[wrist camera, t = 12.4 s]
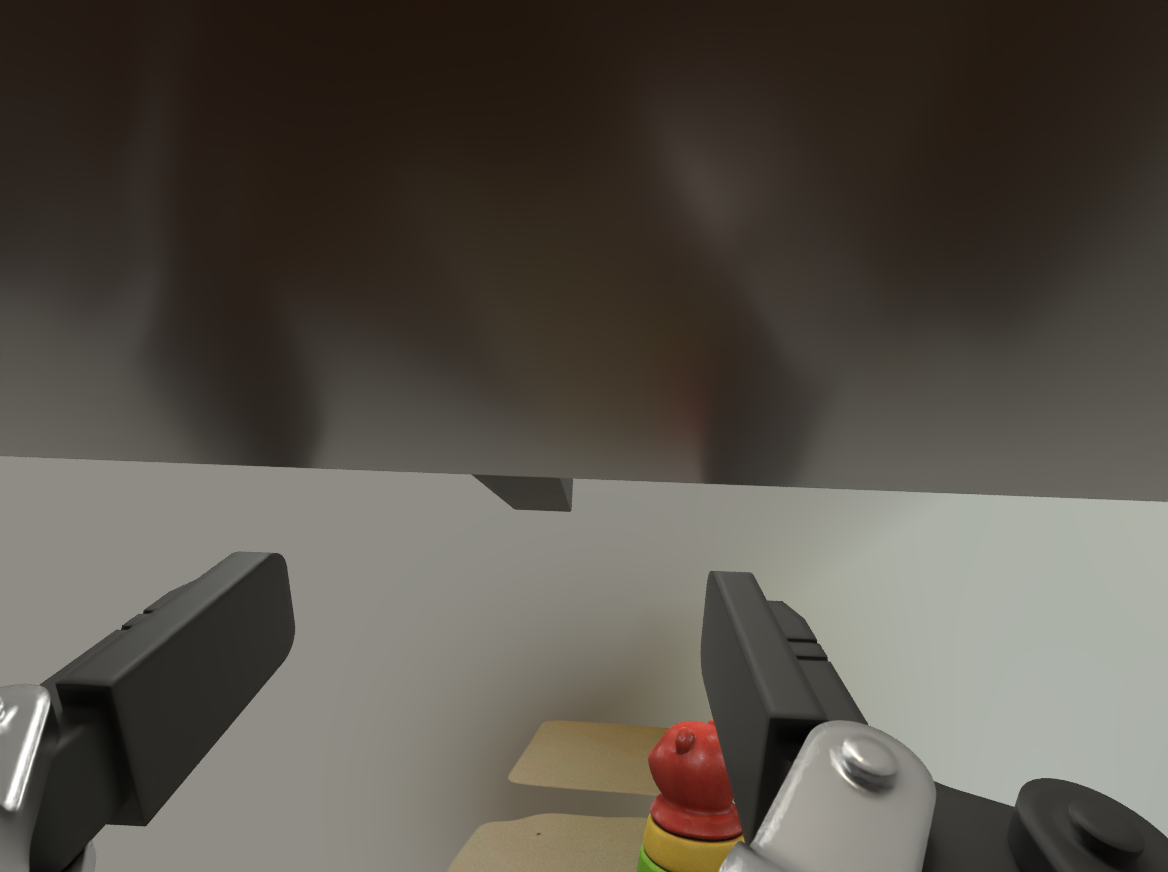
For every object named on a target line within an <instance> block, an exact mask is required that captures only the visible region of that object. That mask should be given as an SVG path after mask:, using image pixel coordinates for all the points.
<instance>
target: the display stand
mask: <svg viewBox="0 0 1168 872" xmlns="http://www.w3.org/2000/svg"><path fill="white" fill-rule="evenodd" d="M0 456H15V457H16V456H17V457H41V458H42V457H43V458H67V459H94V460H117V461H118V460H119V461H143V462H168V463H169V462H170V463H194V464H195V463H196V464H219V465H220V464H221V465H246V466H270V467H297V468H321V469H346V470H372V471H397V472H423V473H424V472H425V473H449V474H474V475H499V476H525V477H550V478H576V479H601V480H627V481H629V480H630V481H652V482H653V481H654V482H677V483H678V482H680V483H704V484H728V485H754V486H780V487H806V488H807V487H808V488H831V489H856V490H881V491H907V492H933V493H959V494H984V495H1010V496H1034V497H1036V496H1037V497H1060V498H1088V499H1111V500H1137V501H1162V502H1168V0H0Z"/></svg>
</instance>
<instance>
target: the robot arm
mask: <svg viewBox="0 0 1168 872" xmlns="http://www.w3.org/2000/svg"><path fill="white" fill-rule="evenodd" d="M702 629H703V630H702V638H701V667H702V675H703V680H704V684H705V689H706V692H707V696H708V700H709V704H710V708H711V712H712V716H713V720H714V724H715V728H716V732H717V735H718V739H719V743H720V747H721V751H722V755H723V759H724V763H725V767H726V770H727V774H728V778H729V782H730V786H731V790H732V794H733V798H734V802H735V806H736V809H737V813H738V817H739V821H740V825H741V829H742V833H743V837H744V841H745V843H744V842H742V841H739V842H737V843H736V844H735V845H734V846H733V848H732V849H731V850H730V852H729V853H728V855H727V857H726V858H725V860H724V862H723V864H722V865H721V867H720V869H719V871H718V872H1168V838H1167V837H1166V836H1165V835H1164V834H1163V833H1161V832H1160V831H1159V830H1158V829H1157V828H1155V827H1154V826H1153V825H1152V824H1151V823H1149V822H1148V821H1147V820H1145V819H1144V818H1143V817H1141V816H1139V815H1138V814H1137V813H1135V812H1134V811H1132V810H1131V809H1129V808H1128V807H1126V806H1124V805H1123V804H1121V803H1119V802H1118V801H1116V800H1114V799H1112V798H1110V797H1108V796H1106V795H1104V794H1102V793H1100V792H1097V791H1095V790H1093V789H1090V788H1088V787H1085V786H1082V785H1079V784H1076V783H1073V782H1069V781H1065V780H1059V779H1052V778H1041V779H1035V780H1032V781H1029V782H1027V783H1026V784H1025V785H1024V786H1023V787H1022V788H1021V790H1020V792H1019V795H1018V798H1017V801H1016V804H1015V807H1013V806H1009V805H1006V804H1003V803H999V802H996V801H992V800H990V799H986V798H983V797H980V796H976V795H973V794H970V793H966V792H963V791H960V790H956V789H953V788H950V787H947V786H945V785H942V784H940V783H937V782H935V781H933V779H932V776H931V774H930V773H929V771H928V769H927V768H926V766H925V765H924V764H923V762H922V761H921V760H920V759H919V758H918V757H917V756H916V755H915V754H914V753H913V752H912V751H911V750H910V749H909V748H908V747H906V746H905V745H904V744H902V743H901V742H900V741H898V740H897V739H895V738H894V737H892V736H890V735H888V734H887V733H885V732H883V731H881V730H879V729H876V728H874V727H871V726H869V725H868V723H867V722H866V720H865V718H864V717H863V715H862V713H861V712H860V710H859V708H858V707H857V705H856V703H855V702H854V700H853V698H852V697H851V695H850V693H849V692H848V690H847V689H846V687H845V685H844V684H843V682H842V680H841V679H840V677H839V676H838V674H837V672H836V670H835V669H834V667H833V665H832V664H831V662H828V659H827V658H828V657H827V655H826V654H825V652H824V650H823V649H822V647H821V645H820V644H817V639H816V637H815V635H814V634H813V632H812V631H811V629H810V627H809V626H808V624H807V622H806V621H805V619H804V618H803V617H801V616H800V615H799V614H798V613H796V612H795V611H794V610H793V609H791V608H790V607H789V606H788V605H786V604H785V603H784V602H783V601H767V600H766V598H765V596H764V594H763V592H762V590H761V588H760V587H759V585H758V583H757V581H756V579H755V577H754V575H753V574H752V573H750V572H725V571H710V573H709V575H708V580H707V588H706V598H705V608H704V618H703V628H702ZM294 635H295V623H294V614H293V607H292V600H291V593H290V585H289V578H288V572H287V565H286V562H285V559H284V557H283V556H282V555H280V554H278V553H262V552H261V553H260V552H235V553H232V554H231V555H230V556H228V557H226V558H225V559H224V560H222V561H221V562H220V563H218V564H217V565H216V566H214V567H213V568H211V569H210V570H209V571H207V572H206V573H205V574H203V575H202V576H201V577H199V578H198V579H197V580H194V581H192V582H190V583H188V584H186V585H183V586H181V587H179V588H177V589H175V590H172V591H170V592H168V593H167V594H166V595H164V596H163V597H161V598H160V599H159V600H157V601H156V602H155V603H153V604H152V605H150V606H149V607H148V608H146V609H145V610H144V612H143V614H138V615H136V616H135V617H134V618H132V619H131V620H129V621H128V622H127V623H125V624H124V625H122V629H121V630H116V631H114V632H113V633H111V634H110V635H108V636H107V637H106V638H104V639H103V640H102V641H100V642H99V643H97V644H96V645H95V646H93V647H92V648H90V649H89V650H88V651H86V652H85V653H83V654H82V655H81V656H79V657H78V658H76V659H75V660H74V661H72V662H71V663H69V664H68V665H67V666H65V667H64V668H62V669H61V670H60V671H58V672H57V673H56V674H54V675H53V676H51V677H50V678H48V679H47V680H46V681H44V682H43V683H41V684H40V685H34V684H17V685H10V686H4V687H0V872H94V870H95V862H96V852H95V848H94V845H93V841H92V839H93V838H94V837H95V835H96V834H97V833H98V832H99V831H100V830H101V829H102V828H103V827H104V826H105V825H106V824H110V825H129V826H147V824H148V823H149V822H150V821H151V820H152V818H153V817H154V816H155V815H156V814H157V812H158V811H159V810H160V809H161V808H162V806H163V805H164V804H165V803H166V802H167V800H168V799H169V798H170V797H171V795H172V794H173V793H174V792H175V791H176V790H177V788H178V787H179V786H180V785H181V784H182V783H183V781H184V780H185V779H186V778H187V776H188V775H189V774H190V773H191V772H192V770H193V769H194V768H195V767H196V766H197V765H198V764H199V762H200V761H201V760H202V759H203V757H204V756H205V755H206V754H207V753H208V752H209V750H210V749H211V748H212V747H213V746H214V744H215V743H216V742H217V741H218V740H219V738H220V737H221V736H222V735H223V734H224V732H225V731H226V730H227V729H228V728H229V726H230V725H231V724H232V722H234V720H235V719H236V718H237V717H238V716H239V714H240V713H241V712H242V711H243V710H244V709H245V707H246V706H247V705H248V704H249V703H250V701H251V700H252V699H253V698H254V697H255V695H256V694H257V693H258V692H259V691H260V689H261V688H262V687H263V686H264V685H265V683H266V682H267V681H268V680H269V679H270V677H271V676H272V675H273V674H274V673H275V671H276V670H277V669H278V668H279V667H280V666H281V664H282V663H283V662H284V661H285V659H286V657H287V656H288V654H289V652H290V650H291V647H292V644H293V640H294Z"/></svg>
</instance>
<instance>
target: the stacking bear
mask: <svg viewBox="0 0 1168 872" xmlns="http://www.w3.org/2000/svg"><path fill="white" fill-rule="evenodd" d="M648 762H649V767H650V770H651V774H652V776H653V779H654V781H655V783H656V785H657V787H658V788H659V790H660V791H661V792H662V793H661V794H659V795H658V796H657V797H656V799H655V800H654V801H653V803H652V805H651V807H650V814H649V817H648V820H647V824H646V828H645V832H644V838H643V843H642V846H641V849H640V855H639V862H638V870H637V872H718V871H719V869H720V867H721V865H722V864H723V862H724V860H725V858H726V857H727V855H728V853H729V852H730V850H731V849H732V848H733V846H734V845H735V844H736V843H737V842H739V841H742V842H744V843H745V841H744V837H743V833H742V829H741V825H740V821H739V817H738V813H737V809H736V806H735V804H734V803H732V800H733V794H732V790H731V786H730V782H729V778H728V774H727V770H726V767H725V763H724V759H723V755H722V751H721V747H720V743H719V739H718V735H717V732H716V728H715V724H714V720H713V719H711V720H710V721H709V722H708V723H707V724H706V723H703V722H697V721H684V722H680V723H677V724H675V725H673V726H672V727H670V728H669V729H668V730H667V731H666V732H665V734H664V735H663V736H662V738H661V739H660V741H659V742H658V743H657V744H656V746H655V747H654V748H653V749H652V750H651V751H650V754H649V758H648Z"/></svg>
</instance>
